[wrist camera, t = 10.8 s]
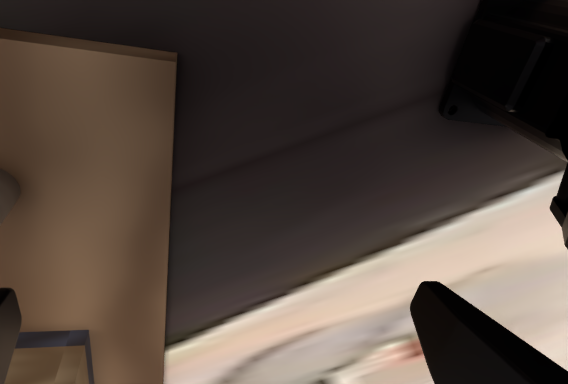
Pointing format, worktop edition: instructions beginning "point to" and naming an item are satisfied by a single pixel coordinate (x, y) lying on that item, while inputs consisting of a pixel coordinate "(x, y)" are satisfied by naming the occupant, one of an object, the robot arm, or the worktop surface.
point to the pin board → (88, 194)
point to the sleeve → (51, 358)
